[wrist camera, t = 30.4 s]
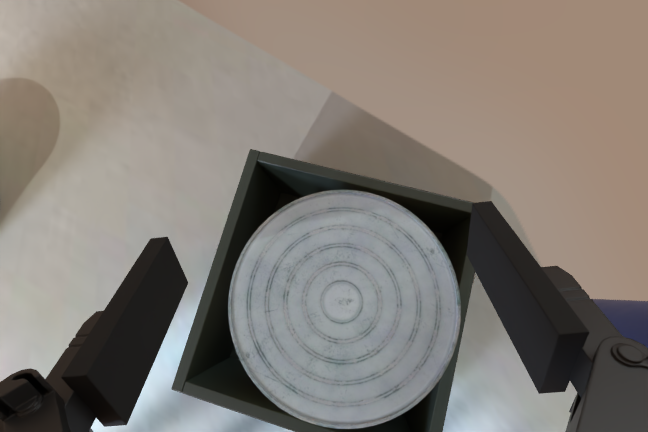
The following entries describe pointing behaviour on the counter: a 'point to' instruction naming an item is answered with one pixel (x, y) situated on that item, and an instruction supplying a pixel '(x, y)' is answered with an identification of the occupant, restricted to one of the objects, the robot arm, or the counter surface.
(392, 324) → the canned food
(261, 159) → the open dark gray bin
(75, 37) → the counter surface
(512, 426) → the counter surface
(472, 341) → the counter surface
